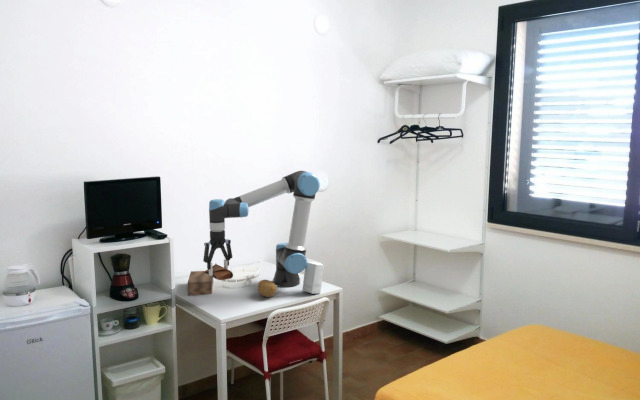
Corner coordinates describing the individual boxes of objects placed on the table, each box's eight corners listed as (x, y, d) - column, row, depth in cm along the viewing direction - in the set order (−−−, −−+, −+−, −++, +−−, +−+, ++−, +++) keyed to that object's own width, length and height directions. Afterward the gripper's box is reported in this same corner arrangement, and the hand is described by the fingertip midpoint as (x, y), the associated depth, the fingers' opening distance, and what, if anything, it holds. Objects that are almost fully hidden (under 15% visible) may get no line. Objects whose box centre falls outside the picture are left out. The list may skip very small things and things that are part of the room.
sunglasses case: (202, 271, 260) (207, 259, 261) (212, 276, 264) (218, 264, 265) (218, 280, 246) (224, 267, 247) (229, 284, 250) (235, 272, 251)
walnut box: (213, 282, 284) (213, 270, 283) (212, 294, 264) (211, 281, 263) (191, 283, 282) (190, 271, 281) (187, 295, 262) (187, 282, 261)
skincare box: (320, 293, 265) (325, 264, 265) (311, 293, 261) (316, 264, 261) (310, 289, 272) (314, 261, 272) (301, 289, 267) (305, 261, 267)
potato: (270, 290, 270) (270, 276, 269) (281, 298, 258) (280, 283, 257) (253, 293, 266) (253, 278, 264) (263, 301, 253) (263, 286, 252)
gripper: (232, 226, 261) (232, 268, 265) (195, 231, 249) (196, 275, 252) (239, 228, 255) (239, 271, 259) (201, 234, 243) (202, 279, 246)
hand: (218, 273), depth 255 cm, fingers closed on sunglasses case, 8 cm apart
